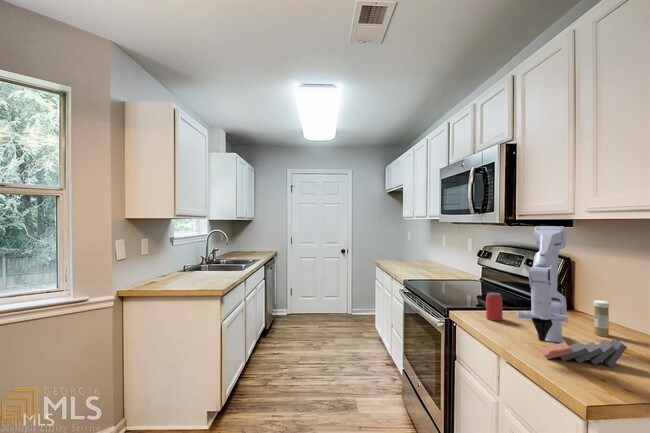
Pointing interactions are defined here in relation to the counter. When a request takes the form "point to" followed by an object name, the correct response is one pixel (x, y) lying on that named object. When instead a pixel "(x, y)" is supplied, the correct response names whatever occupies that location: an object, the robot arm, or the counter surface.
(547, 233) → the robot arm
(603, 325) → the sprinkles bottle
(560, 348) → the red domino
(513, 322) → the counter surface
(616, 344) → the domino
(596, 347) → the domino
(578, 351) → the domino
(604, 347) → the domino
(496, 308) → the beer can
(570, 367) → the counter surface
